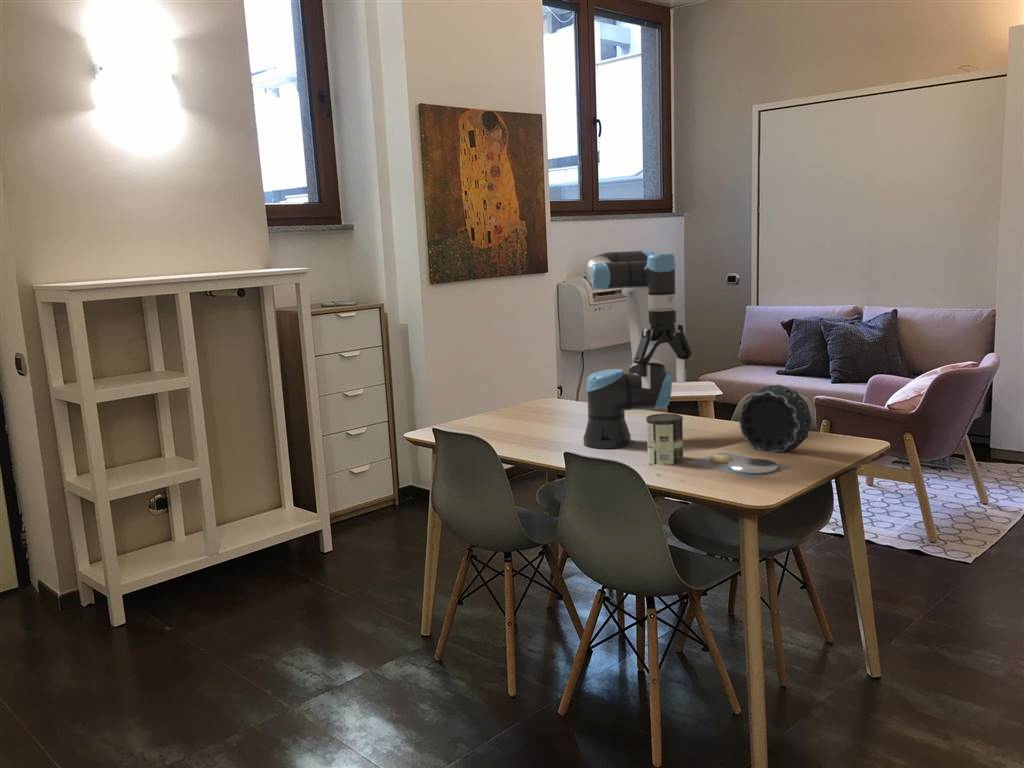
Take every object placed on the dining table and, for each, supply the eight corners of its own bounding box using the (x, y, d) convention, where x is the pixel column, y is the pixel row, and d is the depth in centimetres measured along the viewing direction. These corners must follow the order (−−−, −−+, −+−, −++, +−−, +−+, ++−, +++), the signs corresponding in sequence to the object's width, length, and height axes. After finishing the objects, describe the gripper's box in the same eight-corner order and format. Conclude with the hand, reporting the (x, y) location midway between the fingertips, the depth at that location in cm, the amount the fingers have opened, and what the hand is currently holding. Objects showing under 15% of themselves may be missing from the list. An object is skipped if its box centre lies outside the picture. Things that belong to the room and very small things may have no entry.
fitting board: (685, 467, 247) (685, 458, 247) (724, 457, 256) (724, 448, 256) (753, 484, 228) (753, 475, 228) (792, 472, 237) (792, 463, 237)
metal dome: (717, 468, 240) (717, 464, 239) (749, 459, 247) (749, 456, 247) (755, 477, 229) (755, 473, 229) (787, 468, 236) (787, 464, 236)
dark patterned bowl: (750, 445, 269) (750, 380, 266) (815, 452, 256) (815, 385, 253) (735, 452, 261) (734, 386, 258) (801, 460, 248) (801, 391, 245)
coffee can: (674, 459, 257) (673, 412, 255) (689, 467, 247) (689, 418, 245) (641, 462, 255) (640, 415, 253) (655, 471, 245) (654, 422, 243)
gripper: (638, 314, 234) (640, 392, 237) (703, 306, 248) (704, 380, 251) (619, 313, 240) (621, 389, 243) (683, 305, 254) (685, 377, 257)
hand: (663, 385), depth 247 cm, fingers open, 13 cm apart
